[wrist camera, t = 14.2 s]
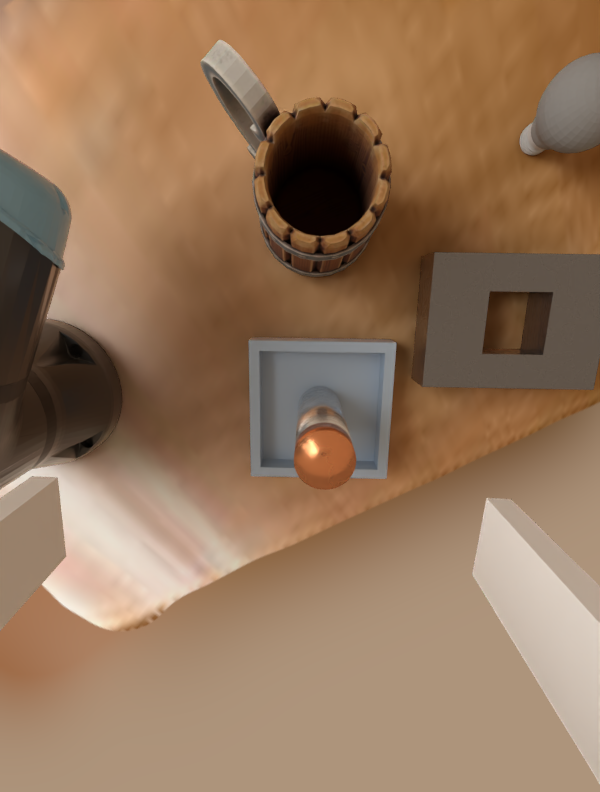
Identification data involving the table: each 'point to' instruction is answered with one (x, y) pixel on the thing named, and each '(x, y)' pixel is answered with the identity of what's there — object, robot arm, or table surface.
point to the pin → (322, 440)
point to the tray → (328, 367)
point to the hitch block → (543, 329)
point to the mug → (306, 168)
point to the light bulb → (567, 111)
